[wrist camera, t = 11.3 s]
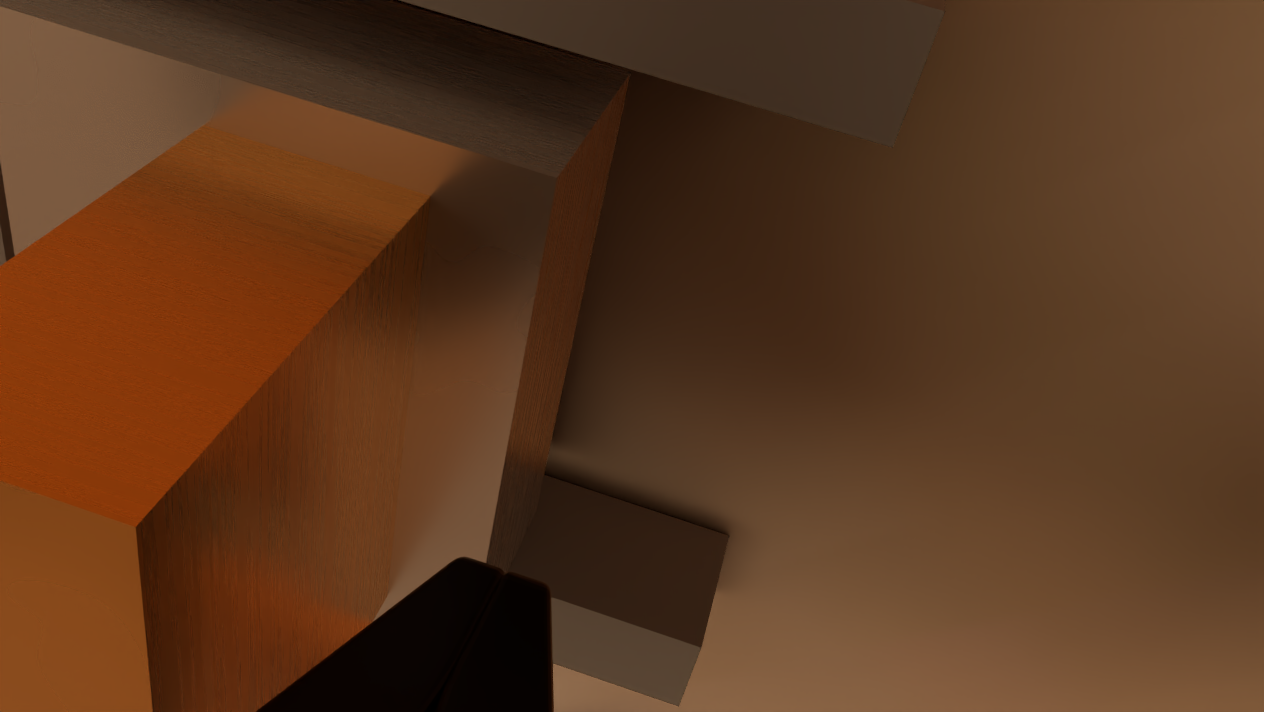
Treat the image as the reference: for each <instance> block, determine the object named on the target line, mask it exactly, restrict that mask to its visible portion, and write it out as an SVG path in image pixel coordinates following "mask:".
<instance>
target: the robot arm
mask: <svg viewBox="0 0 1264 712" xmlns="http://www.w3.org/2000/svg"><path fill="white" fill-rule="evenodd" d="M255 712H554V701H553V655H552V608H551V590H550V588H549V586H548V585H547V584H546V583H544V582H541V581H538V580H535V579H532V578H529V577H526V576H523V575H520V574H517V573H514V572H504V571H503V570H502V569H501V568H499V567H496V566H493V565H490V564H487V563H484V562H481V561H478V560H475V559H472V558H469V557H459V558H456V559H455V560H453V561H452V562H450V563H449V564H447V565H446V566H445V567H443V568H442V569H441V570H440V571H438V572H437V573H436V574H434V575H433V576H432V577H430V578H429V579H428V580H426V581H425V582H424V583H423V584H421V585H420V586H419V587H417V588H416V589H415V590H413V591H412V592H411V593H410V594H408V595H407V596H406V597H404V598H403V599H402V600H400V601H399V602H398V603H396V604H395V605H394V606H393V607H391V608H390V609H389V610H387V611H386V612H385V613H383V614H382V615H381V616H379V617H378V618H377V619H376V620H374V621H373V622H372V623H370V624H369V625H368V626H366V627H365V628H364V629H363V630H361V631H360V632H359V633H357V634H356V635H355V636H353V637H352V638H351V639H349V640H348V641H347V642H346V643H344V644H343V645H342V646H340V647H339V648H338V649H336V650H335V651H334V652H332V653H331V654H330V655H329V656H327V657H326V658H325V659H323V660H322V661H321V662H319V663H318V664H317V665H315V666H314V667H313V668H312V669H310V670H309V671H308V672H306V673H305V674H304V675H302V676H301V677H300V678H299V679H297V680H296V681H295V682H293V683H292V684H291V685H289V686H288V687H287V688H285V689H284V690H283V691H282V692H280V693H279V694H278V695H276V696H275V697H274V698H272V699H271V700H270V701H268V702H267V703H266V704H265V705H263V706H262V707H261V708H259V709H258V710H257V711H255Z"/></svg>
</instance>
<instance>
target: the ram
mask: <svg viewBox="0 0 1264 712" xmlns="http://www.w3.org/2000/svg"><path fill="white" fill-rule="evenodd" d="M630 74H631V72H628V71H625V70H622V69H618V68H615V67H612V66H608V65H605V64H602V63H598V62H595V61H592V60H588V59H585V58H581V57H578V56H575V55H571V54H568V53H565V52H561V51H558V50H555V49H551V48H548V47H545V46H541V45H538V44H535V43H531V42H528V41H525V40H521V39H518V38H515V37H511V36H508V35H505V34H501V33H498V32H495V31H491V30H488V29H485V28H481V27H478V26H475V25H471V24H468V23H465V22H461V21H458V20H454V19H451V18H448V17H444V16H441V15H438V14H434V13H431V12H428V11H424V10H421V9H418V8H414V7H411V6H408V5H404V4H401V3H398V2H394V1H391V0H0V163H1V169H2V176H3V182H4V189H5V195H6V202H7V208H8V215H9V221H10V228H11V234H12V241H13V247H14V254H15V256H14V257H13V258H11V259H10V260H8V261H7V262H5V263H4V264H3V265H1V266H0V712H255V711H257V710H258V709H259V708H261V707H262V706H263V705H265V704H266V703H267V702H268V701H270V700H271V699H272V698H274V697H275V696H276V695H278V694H279V693H280V692H282V691H283V690H284V689H285V688H287V687H288V686H289V685H291V684H292V683H293V682H295V681H296V680H297V679H299V678H300V677H301V676H302V675H304V674H305V673H306V672H308V671H309V670H310V669H312V668H313V667H314V666H315V665H317V664H318V663H319V662H321V661H322V660H323V659H325V658H326V657H327V656H329V655H330V654H331V653H332V652H334V651H335V650H336V649H338V648H339V647H340V646H342V645H343V644H344V643H346V642H347V641H348V640H349V639H351V638H352V637H353V636H355V635H356V634H357V633H359V632H360V631H361V630H363V629H364V628H365V627H366V626H368V625H369V624H370V623H372V622H373V621H374V620H376V619H377V618H378V617H379V616H381V615H382V614H383V613H385V612H386V611H387V610H389V609H390V608H391V607H393V606H394V605H395V604H396V603H398V602H399V601H400V600H402V599H403V598H404V597H406V596H407V595H408V594H410V593H411V592H412V591H413V590H415V589H416V588H417V587H419V586H420V585H421V584H423V583H424V582H425V581H426V580H428V579H429V578H430V577H432V576H433V575H434V574H436V573H437V572H438V571H440V570H441V569H442V568H443V567H445V566H446V565H447V564H449V563H450V562H452V561H453V560H455V559H456V558H459V557H469V558H472V559H475V560H478V561H481V562H484V563H487V564H490V565H493V566H496V567H499V568H501V569H502V570H503V571H504V572H508V570H509V568H510V566H511V564H512V562H513V560H514V558H515V555H516V553H517V551H518V549H519V547H520V545H521V543H522V540H523V538H524V536H525V534H526V532H527V530H528V528H529V525H530V523H531V521H532V519H533V517H534V515H535V513H536V509H537V505H538V500H539V495H540V491H541V486H542V482H543V477H544V472H545V468H546V463H547V458H548V454H549V449H550V445H551V440H552V435H553V431H554V426H555V421H556V417H557V412H558V408H559V403H560V398H561V394H562V389H563V384H564V380H565V375H566V370H567V366H568V361H569V357H570V352H571V347H572V343H573V338H574V333H575V329H576V324H577V320H578V315H579V310H580V306H581V301H582V296H583V292H584V287H585V283H586V278H587V273H588V269H589V264H590V259H591V255H592V250H593V246H594V241H595V236H596V232H597V227H598V222H599V218H600V213H601V209H602V204H603V199H604V195H605V190H606V185H607V181H608V176H609V171H610V167H611V162H612V158H613V153H614V148H615V144H616V139H617V134H618V130H619V125H620V121H621V116H622V111H623V107H624V102H625V97H626V93H627V88H628V84H629V79H630Z"/></svg>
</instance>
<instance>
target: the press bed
mask: <svg viewBox="0 0 1264 712" xmlns="http://www.w3.org/2000/svg"><path fill="white" fill-rule="evenodd" d="M400 1H403V2H407V3H410V4H413V5H417V6H420V7H423V8H427V9H430V10H433V11H437V12H440V13H443V14H447V15H450V16H454V17H457V18H460V19H464V20H467V21H470V22H474V23H477V24H480V25H484V26H487V27H490V28H494V29H497V30H500V31H504V32H507V33H510V34H514V35H517V36H520V37H524V38H527V39H530V40H534V41H537V42H540V43H544V44H547V45H551V46H554V47H557V48H561V49H564V50H567V51H571V52H574V53H577V54H581V55H584V56H587V57H591V58H594V59H597V60H601V61H604V62H607V63H611V64H614V65H617V66H621V67H624V68H627V69H631V70H634V71H637V72H641V73H644V74H648V75H651V76H654V77H658V78H661V79H664V80H668V81H671V82H674V83H678V84H681V85H684V86H688V87H691V88H694V89H698V90H701V91H704V92H708V93H711V94H714V95H718V96H721V97H724V98H728V99H731V100H734V101H738V102H741V103H745V104H748V105H751V106H755V107H758V108H761V109H765V110H768V111H771V112H775V113H778V114H781V115H785V116H788V117H791V118H795V119H798V120H801V121H805V122H808V123H811V124H815V125H818V126H821V127H825V128H828V129H832V130H835V131H838V132H842V133H845V134H848V135H852V136H855V137H858V138H862V139H865V140H868V141H872V142H875V143H878V144H882V145H885V146H888V147H892V148H893V146H894V143H895V141H896V138H897V136H898V133H899V130H900V128H901V125H902V123H903V120H904V117H905V115H906V112H907V109H908V107H909V104H910V102H911V99H912V96H913V94H914V91H915V89H916V86H917V83H918V81H919V78H920V76H921V73H922V70H923V68H924V65H925V63H926V60H927V57H928V55H929V52H930V49H931V47H932V44H933V42H934V39H935V36H936V34H937V31H938V29H939V26H940V23H941V21H942V18H943V16H944V13H945V1H946V0H400ZM14 256H15V254H14V247H13V241H12V234H11V228H10V221H9V215H8V208H7V202H6V195H5V189H4V182H3V176H2V169H1V163H0V266H1V265H3V264H4V263H5V262H7V261H8V260H10V259H11V258H13V257H14ZM728 538H729V536H728V535H725V534H722V533H719V532H716V531H713V530H710V529H707V528H704V527H701V526H698V525H695V524H692V523H689V522H686V521H682V520H679V519H676V518H673V517H670V516H667V515H664V514H661V513H658V512H655V511H652V510H649V509H646V508H643V507H640V506H637V505H634V504H631V503H628V502H625V501H622V500H619V499H616V498H613V497H610V496H607V495H604V494H601V493H598V492H595V491H592V490H589V489H586V488H583V487H580V486H577V485H573V484H570V483H567V482H564V481H561V480H558V479H555V478H552V477H549V476H546V475H544V477H543V482H542V486H541V491H540V495H539V500H538V505H537V509H536V513H535V515H534V517H533V519H532V521H531V523H530V525H529V528H528V530H527V532H526V534H525V536H524V538H523V540H522V543H521V545H520V547H519V549H518V551H517V553H516V555H515V558H514V560H513V562H512V564H511V566H510V568H509V570H508V572H514V573H517V574H520V575H523V576H526V577H529V578H532V579H535V580H538V581H541V582H544V583H546V584H547V585H548V586H549V588H550V590H551V608H552V655H553V663H554V664H557V665H560V666H563V667H566V668H568V669H571V670H574V671H577V672H580V673H583V674H586V675H589V676H592V677H595V678H598V679H600V680H603V681H606V682H609V683H612V684H615V685H618V686H621V687H624V688H627V689H630V690H632V691H635V692H638V693H641V694H644V695H647V696H650V697H653V698H656V699H659V700H662V701H664V702H667V703H670V704H673V705H676V706H679V704H680V702H681V699H682V697H683V694H684V691H685V689H686V686H687V684H688V681H689V678H690V676H691V673H692V671H693V668H694V665H695V663H696V660H697V657H698V655H699V652H700V650H701V647H702V643H703V639H704V635H705V631H706V627H707V623H708V619H709V615H710V611H711V606H712V602H713V598H714V594H715V590H716V586H717V582H718V578H719V574H720V570H721V566H722V562H723V558H724V554H725V550H726V546H727V542H728Z"/></svg>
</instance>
